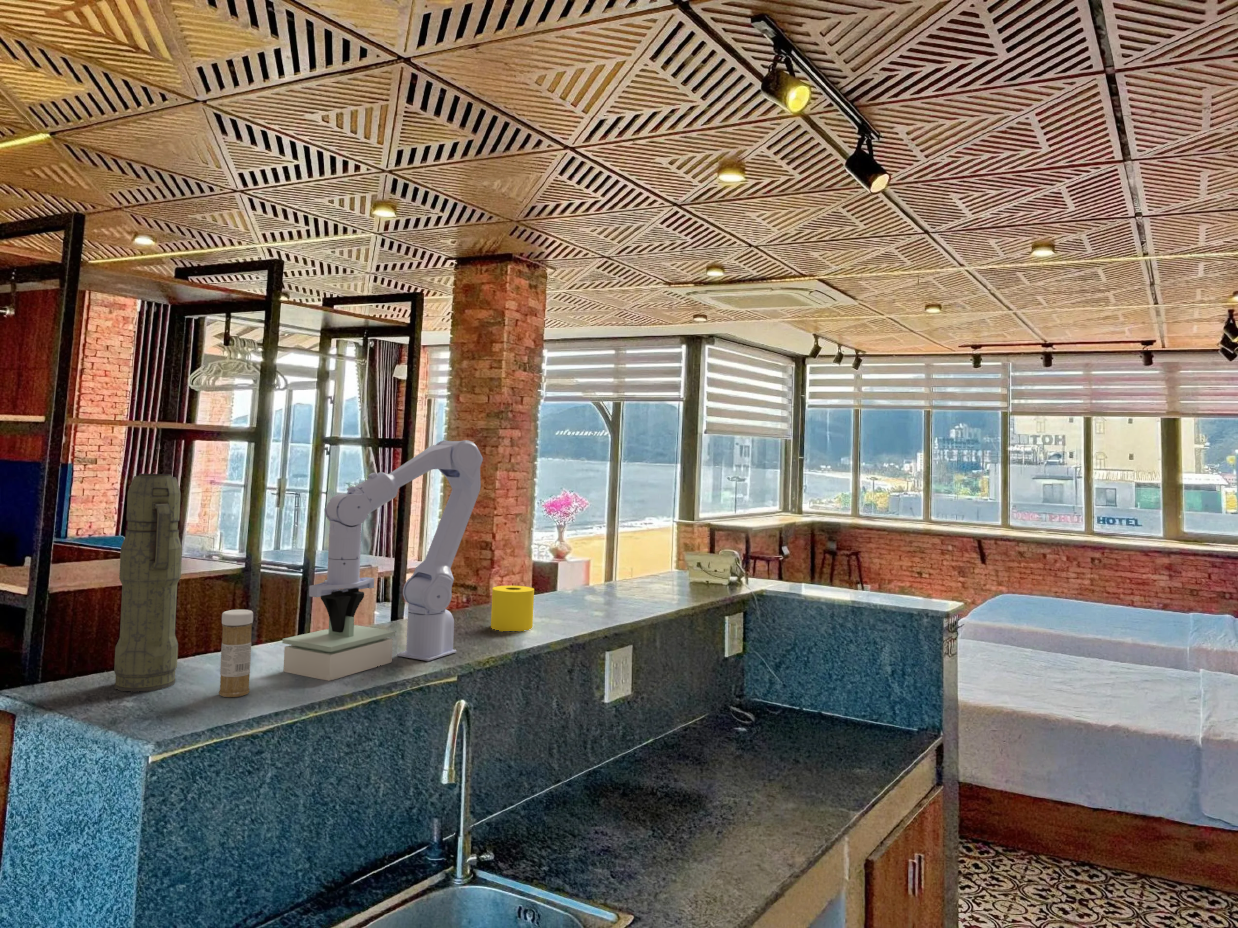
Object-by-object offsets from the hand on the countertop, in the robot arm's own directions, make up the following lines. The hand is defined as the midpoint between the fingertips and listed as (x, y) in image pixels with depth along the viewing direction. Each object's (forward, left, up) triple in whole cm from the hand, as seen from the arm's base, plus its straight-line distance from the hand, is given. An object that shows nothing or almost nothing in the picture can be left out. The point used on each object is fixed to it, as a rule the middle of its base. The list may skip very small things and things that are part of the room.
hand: (341, 630), depth 147 cm
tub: (0, 0, -7) cm, 7 cm away
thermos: (+26, -17, -7) cm, 32 cm away
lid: (0, 0, -2) cm, 2 cm away
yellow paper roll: (-50, +6, -7) cm, 51 cm away
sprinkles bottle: (+22, -1, -7) cm, 23 cm away
